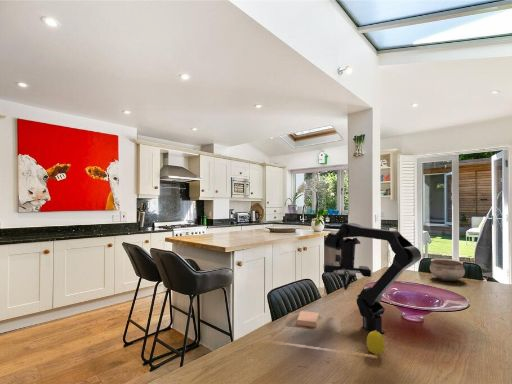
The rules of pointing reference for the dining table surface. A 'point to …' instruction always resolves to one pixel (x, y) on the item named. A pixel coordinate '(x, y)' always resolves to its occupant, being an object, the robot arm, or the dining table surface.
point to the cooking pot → (447, 269)
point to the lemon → (375, 343)
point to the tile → (307, 319)
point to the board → (322, 323)
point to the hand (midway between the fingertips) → (345, 289)
